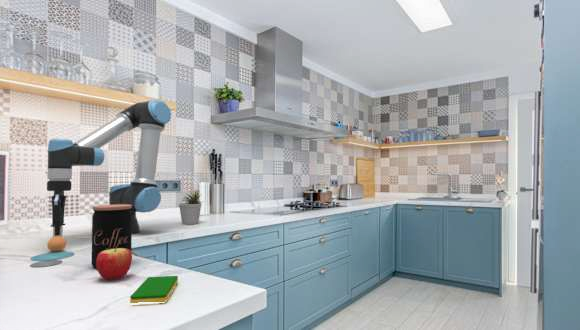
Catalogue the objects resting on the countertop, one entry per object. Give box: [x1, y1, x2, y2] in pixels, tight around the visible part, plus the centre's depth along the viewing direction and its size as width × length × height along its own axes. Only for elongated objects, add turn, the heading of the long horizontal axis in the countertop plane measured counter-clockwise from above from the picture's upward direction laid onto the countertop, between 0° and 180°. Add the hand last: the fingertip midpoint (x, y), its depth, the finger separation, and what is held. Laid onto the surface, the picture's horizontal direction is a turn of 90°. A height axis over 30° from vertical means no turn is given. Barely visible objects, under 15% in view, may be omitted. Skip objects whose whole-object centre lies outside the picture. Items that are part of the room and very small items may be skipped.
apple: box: [96, 239, 133, 281], centre depth 87 cm, size 8×8×10 cm
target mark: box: [30, 251, 75, 262], centre depth 112 cm, size 12×12×1 cm
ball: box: [47, 236, 67, 253], centre depth 119 cm, size 6×6×6 cm
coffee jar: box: [91, 204, 133, 270], centre depth 100 cm, size 11×11×18 cm
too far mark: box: [29, 259, 63, 268], centre depth 102 cm, size 8×8×1 cm
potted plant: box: [178, 189, 205, 226], centre depth 190 cm, size 13×14×20 cm
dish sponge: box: [129, 275, 179, 304], centre depth 75 cm, size 7×14×2 cm, turn 8°
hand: (57, 243), depth 122 cm, fingers closed
